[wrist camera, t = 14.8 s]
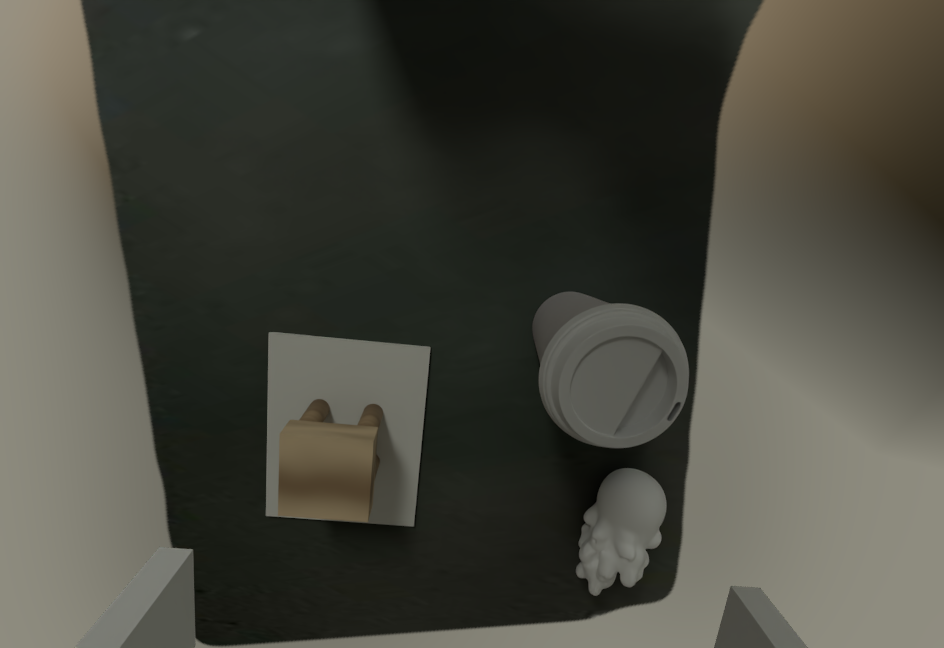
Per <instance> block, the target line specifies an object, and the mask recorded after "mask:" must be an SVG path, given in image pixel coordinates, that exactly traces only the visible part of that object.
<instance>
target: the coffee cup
mask: <svg viewBox="0 0 944 648" xmlns="http://www.w3.org/2000/svg"><path fill="white" fill-rule="evenodd" d="M532 333H533V338H534V342H535V346H536V350H537V354H538V358H539V362H540V370H539V390H540V395H541V399H542V402H543V405H544V407H545V409H546V411H547V413H548V414H549V416H550V417H551V419H552V420H553V421H554V422H555V423H556V424H557V425H558V426H559V427H560V428H561V429H562V430H563V431H565V432H566V433H567V434H569V435H570V436H572V437H574V438H575V439H577V440H579V441H582V442H584V443H587V444H590V445H594V446H599V447H608V448H628V447H633V446H637V445H640V444H643V443H646V442H648V441H650V440H652V439H654V438H655V437H657V436H658V435H660V434H661V433H663V432H664V431H665V430H666V429H667V428H668V427H669V426H670V425H671V424H672V423H673V422H674V420H675V419H676V418H677V416H678V415H679V413H680V411H681V409H682V407H683V405H684V403H685V400H686V396H687V392H688V381H689V366H688V359H687V355H686V352H685V349H684V346H683V344H682V342H681V340H680V338H679V336H678V335H677V333H676V332H675V330H674V329H673V328H672V327H671V326H670V324H669V323H668V322H667V321H665V320H664V319H663V318H662V317H660V316H659V315H657V314H656V313H654V312H652V311H650V310H648V309H646V308H643V307H640V306H636V305H631V304H619V303H618V304H609V303H607V302H604V301H601V300H598V299H596V298H593V297H590V296H588V295H585V294H582V293H578V292H562V293H559V294H556V295H554V296H552V297H550V298H549V299H547V300H546V301H545V302H544V303H543V304H542V305H541V306H540V307H539V309H538V310H537V312H536V314H535V316H534V319H533V324H532Z"/></svg>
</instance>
